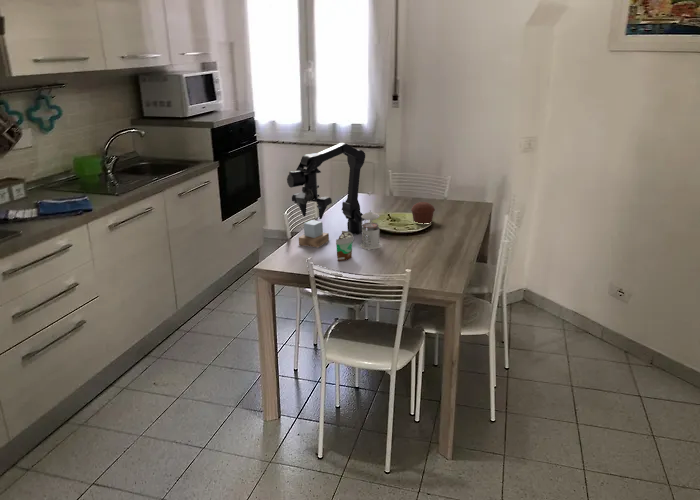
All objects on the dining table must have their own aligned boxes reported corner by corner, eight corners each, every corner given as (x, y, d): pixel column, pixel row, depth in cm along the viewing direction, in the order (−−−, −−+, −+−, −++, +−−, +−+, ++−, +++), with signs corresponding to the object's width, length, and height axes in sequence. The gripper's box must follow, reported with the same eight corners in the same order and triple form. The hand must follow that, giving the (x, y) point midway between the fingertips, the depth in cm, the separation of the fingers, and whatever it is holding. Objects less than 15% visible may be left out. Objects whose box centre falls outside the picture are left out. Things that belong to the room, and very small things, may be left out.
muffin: (408, 224, 286) (408, 205, 283) (414, 218, 296) (414, 199, 292) (431, 226, 282) (432, 206, 278) (437, 220, 291) (437, 200, 288)
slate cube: (322, 234, 265) (322, 221, 263) (314, 237, 260) (313, 225, 258) (312, 232, 268) (312, 219, 266) (304, 235, 264) (303, 223, 262)
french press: (366, 250, 253) (365, 195, 244) (354, 243, 263) (352, 189, 254) (386, 246, 257) (385, 191, 249) (373, 239, 267) (371, 186, 258)
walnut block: (328, 241, 267) (328, 233, 266) (318, 248, 259) (317, 240, 258) (310, 238, 272) (309, 230, 270) (299, 245, 263) (298, 237, 262)
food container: (351, 263, 240) (350, 240, 237) (336, 262, 241) (335, 239, 238) (356, 252, 251) (356, 230, 248) (343, 252, 253) (342, 230, 249)
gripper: (282, 185, 255) (285, 219, 260) (316, 190, 245) (317, 225, 250) (298, 180, 263) (300, 213, 269) (331, 184, 253) (333, 218, 258)
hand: (312, 217), depth 261 cm, fingers open, 9 cm apart
